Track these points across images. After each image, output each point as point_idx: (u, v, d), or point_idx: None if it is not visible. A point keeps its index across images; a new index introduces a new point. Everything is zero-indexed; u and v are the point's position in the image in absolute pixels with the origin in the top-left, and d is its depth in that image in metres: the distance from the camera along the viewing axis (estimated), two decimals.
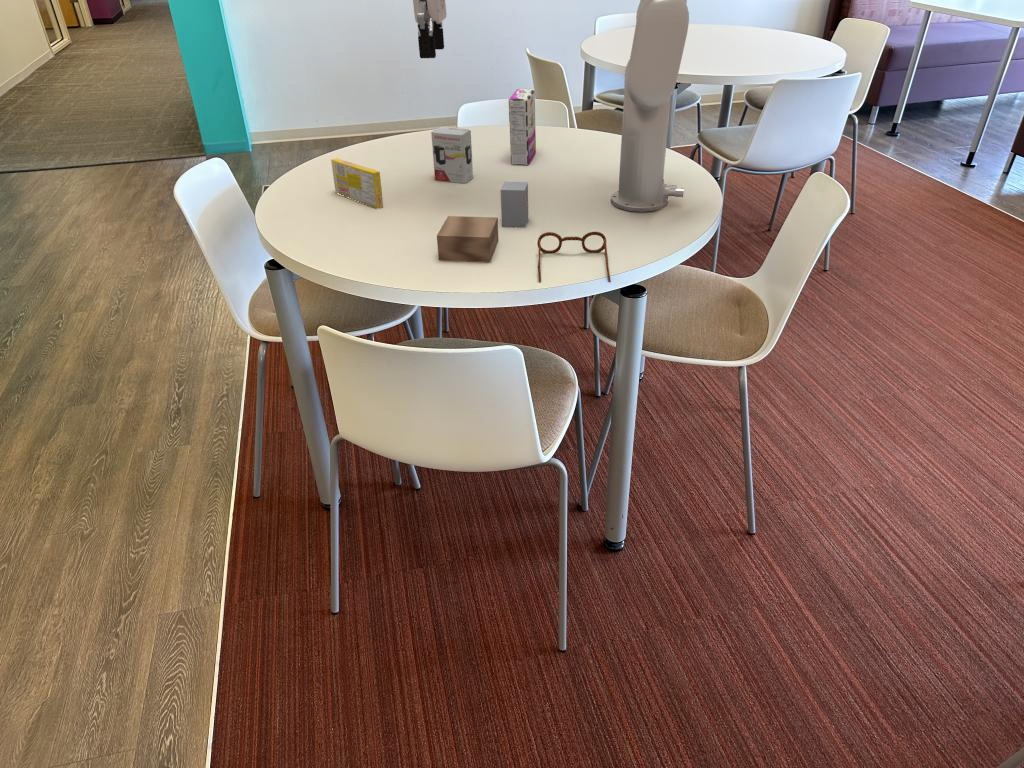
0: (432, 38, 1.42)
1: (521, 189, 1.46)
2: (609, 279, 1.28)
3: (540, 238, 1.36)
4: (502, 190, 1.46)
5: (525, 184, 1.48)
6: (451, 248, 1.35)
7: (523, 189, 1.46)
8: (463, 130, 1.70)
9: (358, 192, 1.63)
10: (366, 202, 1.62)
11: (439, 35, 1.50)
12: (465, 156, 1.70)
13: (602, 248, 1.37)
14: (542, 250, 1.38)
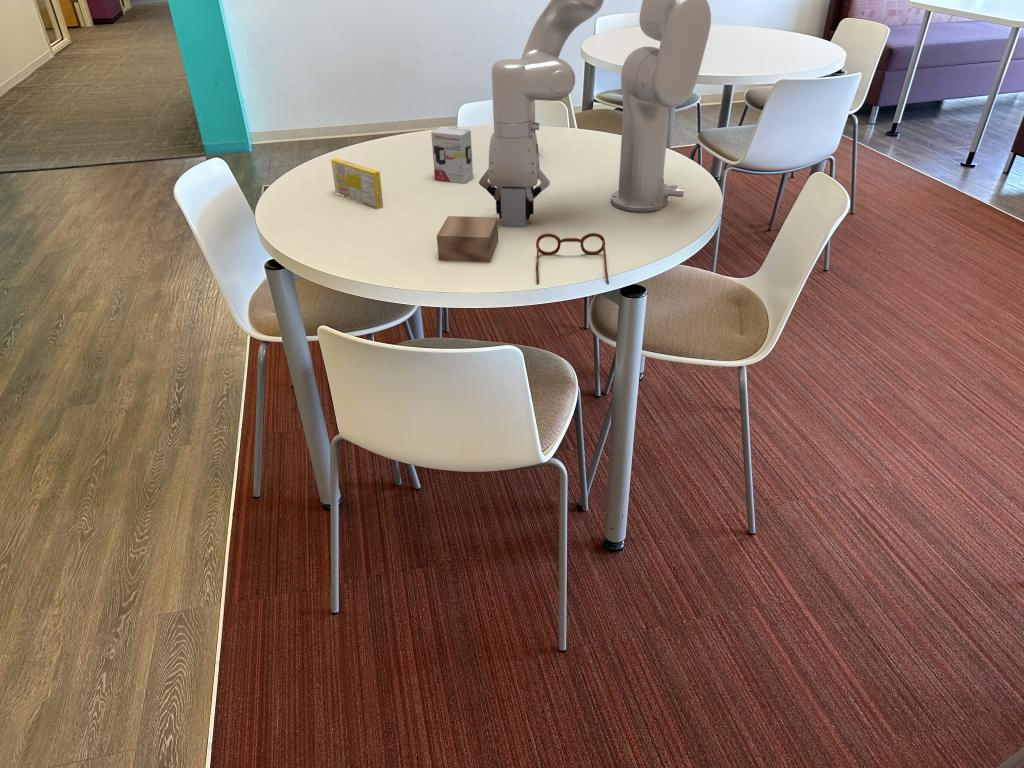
0: None
1: (521, 189, 1.46)
2: (607, 281, 1.27)
3: (539, 239, 1.36)
4: (502, 190, 1.46)
5: None
6: (451, 248, 1.35)
7: (523, 189, 1.46)
8: (463, 130, 1.70)
9: (358, 192, 1.63)
10: (366, 202, 1.62)
11: None
12: (465, 156, 1.70)
13: (601, 250, 1.37)
14: (541, 251, 1.38)
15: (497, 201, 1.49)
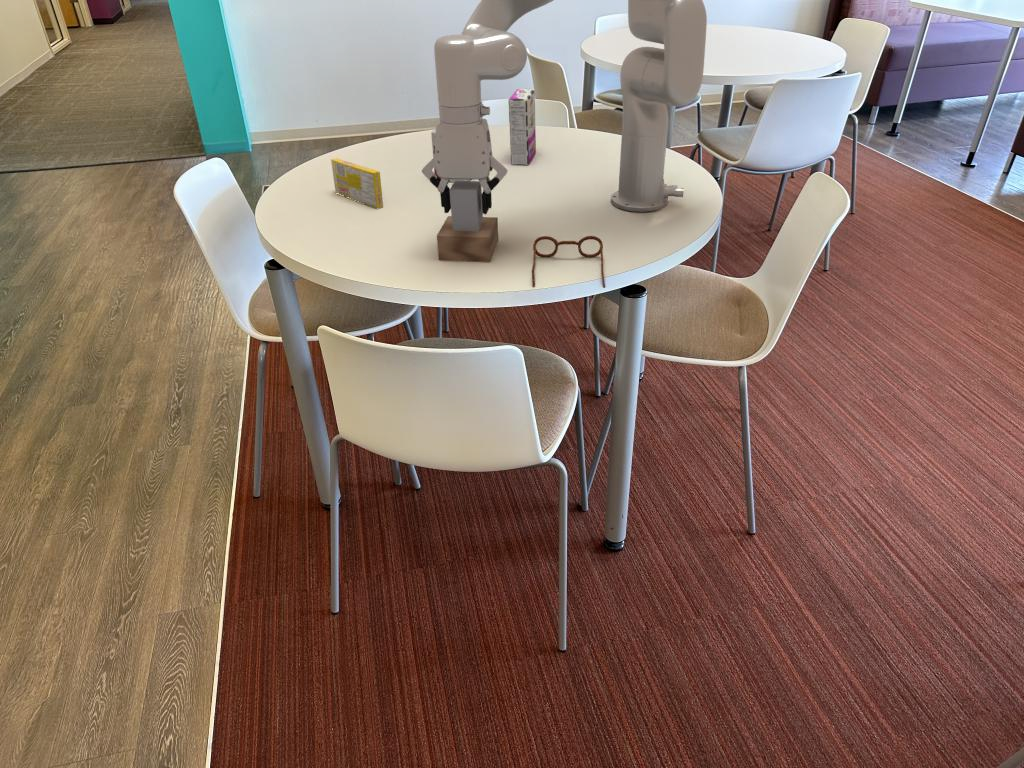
0: None
1: (472, 189, 1.31)
2: (604, 284, 1.26)
3: (536, 242, 1.35)
4: (451, 190, 1.32)
5: (478, 183, 1.34)
6: (451, 248, 1.35)
7: (474, 189, 1.31)
8: None
9: (358, 192, 1.63)
10: (366, 202, 1.62)
11: (449, 195, 1.36)
12: None
13: (599, 252, 1.36)
14: (538, 254, 1.37)
15: (442, 193, 1.34)
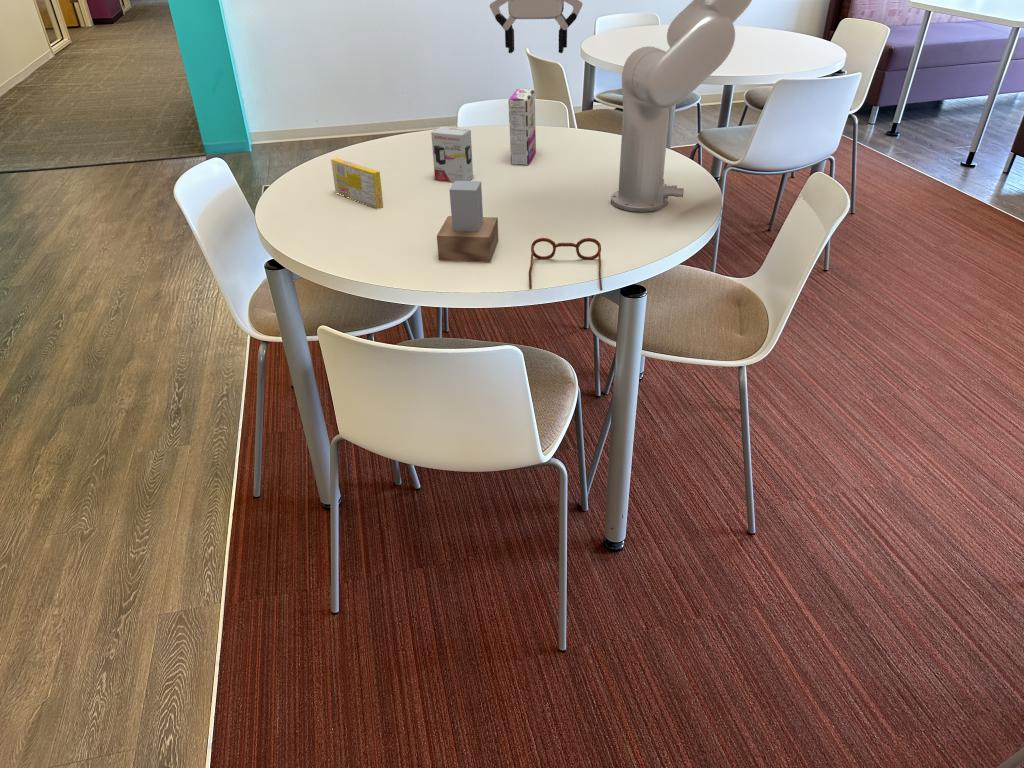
0: None
1: (472, 189, 1.31)
2: (601, 287, 1.25)
3: (533, 244, 1.34)
4: (451, 190, 1.32)
5: (478, 183, 1.34)
6: (451, 248, 1.35)
7: (474, 189, 1.31)
8: (463, 130, 1.70)
9: (358, 192, 1.63)
10: (366, 202, 1.62)
11: (513, 35, 1.38)
12: (465, 156, 1.70)
13: (597, 255, 1.35)
14: (536, 256, 1.36)
15: (506, 32, 1.36)
